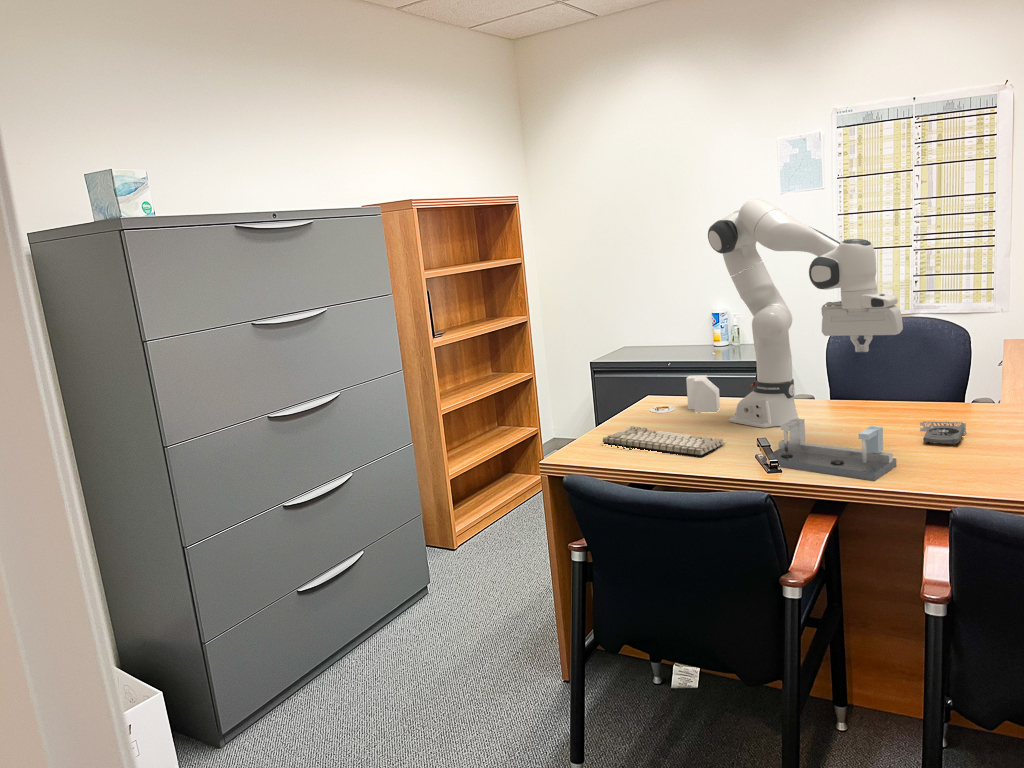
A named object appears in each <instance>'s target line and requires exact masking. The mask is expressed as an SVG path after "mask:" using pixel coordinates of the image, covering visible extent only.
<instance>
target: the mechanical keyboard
mask: <svg viewBox="0 0 1024 768" xmlns="http://www.w3.org/2000/svg"><path fill="white" fill-rule="evenodd" d="M602 443H603V444H608V445H611V447H612V445H615V446H617V448H619V447H618V446H622V447H623V449H625V448H624V447H626V448H629V450H632V449H633V448H634V449H635V448H637V449H640V450H644V449H645V450H648V451H650V450H651V451H657V452H662V453H670V454H669V455H673V454H676V455H675V456H681V455H682V457H690V458H697V459H703V458H705V457H707V456H708V455H711V454H712V453H715V452H716V451H718V449H721V447H722V446H723V445H725V444H726V442H724V440H723V438H716V437H714V438H712V437H707V436H703V437H702V436H700V435H699V436H698V435H693V436H692V434H686V433H678V432H671V431H661V430H650V429H648V427H641V426H639V427H638V426H637V427H636V426H632V425H631V426H630V427H627V428H625V429H622V430H620V431H617V432H615V433H613V434H609V435H608V434H607V436H604V437H602ZM631 448H632V449H631ZM629 450H628V451H629ZM677 454H678V455H677Z"/></svg>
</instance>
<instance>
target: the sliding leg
mask: <svg viewBox="0 0 1024 768" xmlns="http://www.w3.org/2000/svg"><path fill="white" fill-rule="evenodd" d="M883 431H884V427H883V426H877V425H870V426H868V427H866V428H865V429H864V430H862V431H861V432H859V433H858V440H861V450H862V461H863V463H866V462H867V452H869V453H877V454H879V453H880V452H884V432H883Z"/></svg>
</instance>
